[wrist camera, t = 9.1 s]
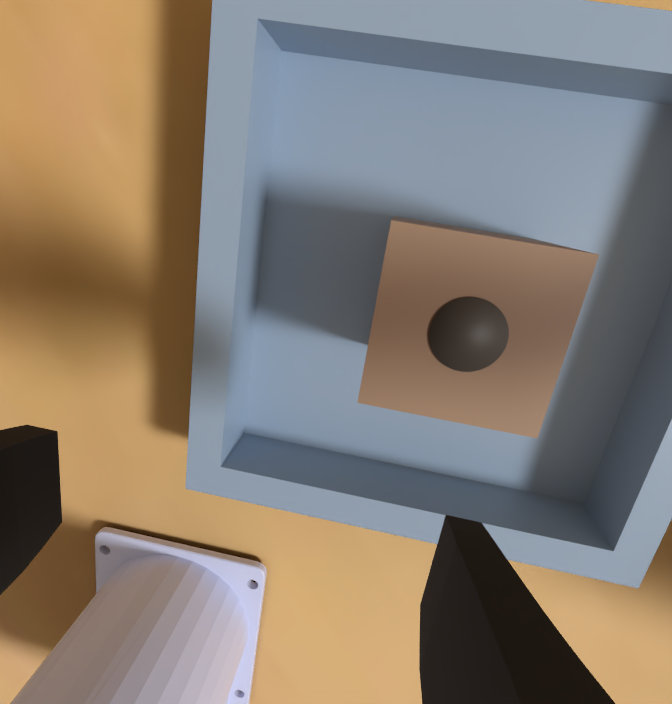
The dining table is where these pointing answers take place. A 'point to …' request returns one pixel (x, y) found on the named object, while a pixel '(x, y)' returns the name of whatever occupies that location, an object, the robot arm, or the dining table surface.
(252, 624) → the robot arm
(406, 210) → the tray
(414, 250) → the walnut block
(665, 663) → the dining table surface
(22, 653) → the dining table surface
